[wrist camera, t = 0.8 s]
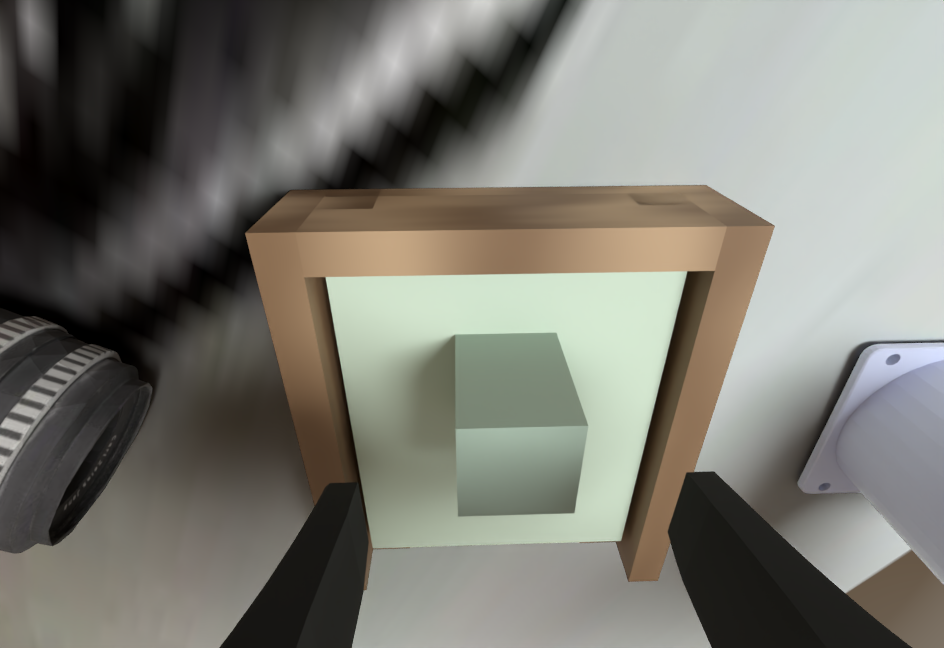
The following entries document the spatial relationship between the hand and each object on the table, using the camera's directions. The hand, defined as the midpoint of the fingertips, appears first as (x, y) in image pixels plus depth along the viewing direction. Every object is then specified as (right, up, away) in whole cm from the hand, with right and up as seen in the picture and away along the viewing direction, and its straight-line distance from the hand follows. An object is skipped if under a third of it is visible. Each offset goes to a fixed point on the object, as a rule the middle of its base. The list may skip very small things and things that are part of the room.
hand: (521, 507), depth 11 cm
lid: (0, +1, +6) cm, 7 cm away
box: (0, +2, +8) cm, 8 cm away
